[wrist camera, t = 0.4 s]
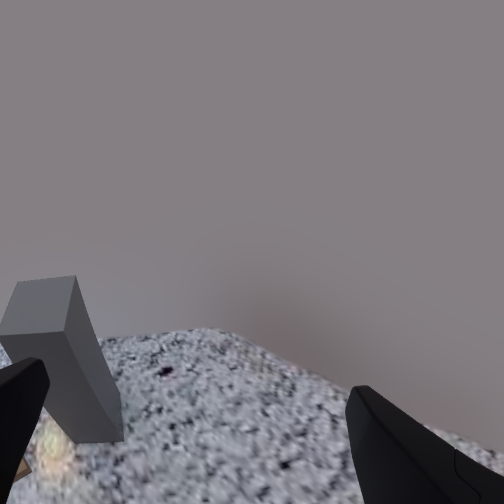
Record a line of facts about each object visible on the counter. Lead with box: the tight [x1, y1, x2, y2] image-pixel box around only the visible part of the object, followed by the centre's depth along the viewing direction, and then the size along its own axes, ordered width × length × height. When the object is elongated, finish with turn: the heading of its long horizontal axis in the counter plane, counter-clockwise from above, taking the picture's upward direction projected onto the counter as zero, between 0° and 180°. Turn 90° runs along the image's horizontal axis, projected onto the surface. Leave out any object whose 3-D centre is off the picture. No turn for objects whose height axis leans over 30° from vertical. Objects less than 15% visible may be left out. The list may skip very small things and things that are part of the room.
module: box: [0, 275, 124, 443], centre depth 18 cm, size 5×4×13 cm
